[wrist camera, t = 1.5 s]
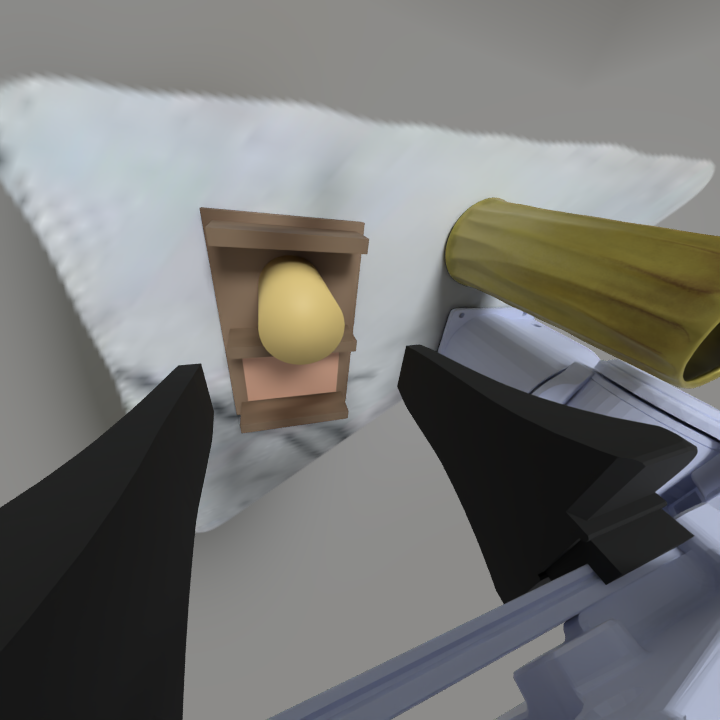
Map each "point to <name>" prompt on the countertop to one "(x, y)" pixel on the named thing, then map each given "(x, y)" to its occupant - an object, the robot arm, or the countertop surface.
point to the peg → (297, 312)
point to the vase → (600, 282)
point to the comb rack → (240, 312)
